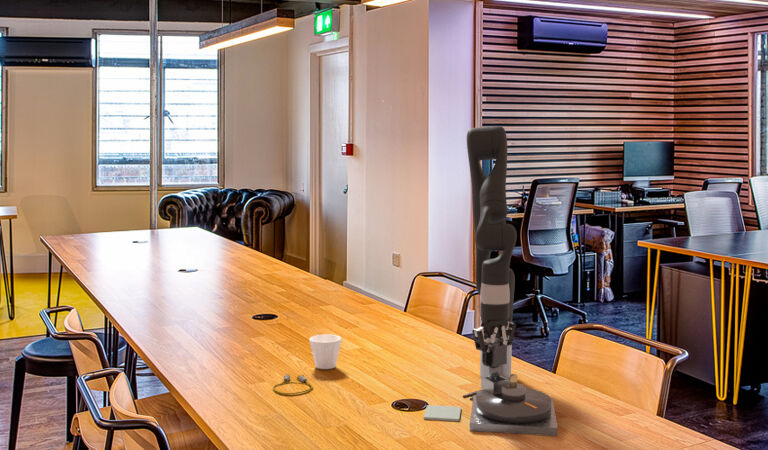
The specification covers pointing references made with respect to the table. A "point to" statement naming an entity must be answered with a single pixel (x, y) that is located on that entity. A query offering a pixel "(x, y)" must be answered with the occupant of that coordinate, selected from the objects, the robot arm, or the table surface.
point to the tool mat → (442, 413)
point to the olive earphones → (287, 378)
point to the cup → (325, 350)
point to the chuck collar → (511, 401)
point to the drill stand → (513, 424)
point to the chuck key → (497, 359)
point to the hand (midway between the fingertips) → (493, 363)
